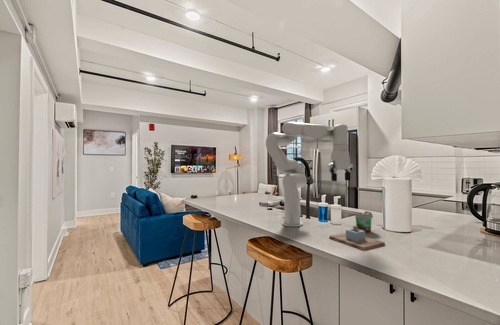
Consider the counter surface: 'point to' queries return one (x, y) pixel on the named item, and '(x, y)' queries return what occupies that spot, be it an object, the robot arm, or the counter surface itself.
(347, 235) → the collar
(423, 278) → the counter surface
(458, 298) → the counter surface
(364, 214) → the food container
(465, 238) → the counter surface
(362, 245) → the shaft stand
